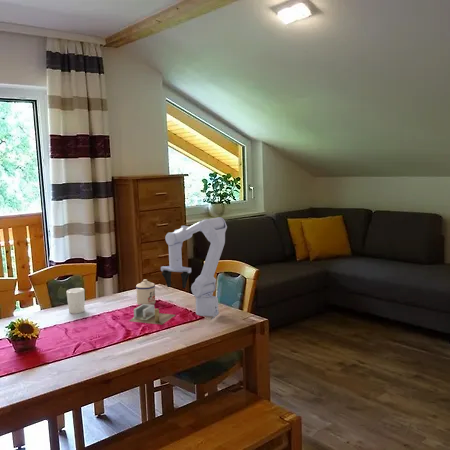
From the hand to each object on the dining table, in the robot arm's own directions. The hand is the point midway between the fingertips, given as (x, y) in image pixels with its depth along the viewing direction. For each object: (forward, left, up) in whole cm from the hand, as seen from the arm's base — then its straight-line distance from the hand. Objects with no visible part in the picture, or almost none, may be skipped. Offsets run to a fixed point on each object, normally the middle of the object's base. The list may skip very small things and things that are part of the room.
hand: (176, 287), depth 226 cm
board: (+3, +18, -10) cm, 21 cm away
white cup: (+43, +17, -10) cm, 47 cm away
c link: (+8, +17, -9) cm, 21 cm away
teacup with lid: (+18, -4, -10) cm, 21 cm away
